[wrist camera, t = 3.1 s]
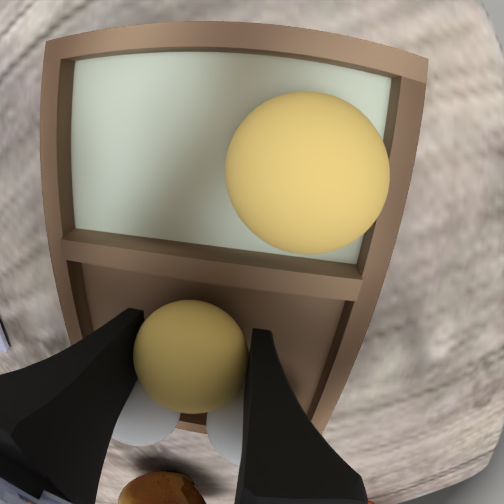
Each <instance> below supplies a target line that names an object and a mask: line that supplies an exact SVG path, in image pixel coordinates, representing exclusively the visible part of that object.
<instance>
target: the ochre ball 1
mask: <svg viewBox="0 0 504 504" xmlns="http://www.w3.org/2000/svg"><path fill="white" fill-rule="evenodd" d="M248 359H249V352H248V345H247V342H246V339H245V336H244V334H243V332H242V330H241V329H240V327H239V326H238V324H237V323H236V322H235V320H234V319H233V318H232V317H231V316H230V315H229V314H227V313H226V312H225V311H223V310H222V309H220V308H219V307H217V306H215V305H212V304H210V303H207V302H204V301H199V300H180V301H175V302H172V303H169V304H166V305H164V306H162V307H161V308H159V309H157V310H156V311H154V312H153V313H152V314H151V315H150V316H149V317H148V318H147V319H146V320H145V321H144V323H143V324H142V326H141V327H140V329H139V331H138V333H137V336H136V339H135V343H134V349H133V361H134V368H135V371H136V374H137V377H138V379H139V381H140V383H141V385H142V386H143V388H144V389H145V391H146V392H147V393H148V394H149V395H150V396H151V397H152V398H153V399H154V400H155V401H156V402H158V403H159V404H161V405H163V406H164V407H166V408H169V409H171V410H174V411H177V412H181V413H188V414H197V413H205V412H209V411H212V410H214V409H217V408H219V407H221V406H222V405H224V404H225V403H227V402H228V401H229V400H231V399H232V398H233V397H234V396H235V395H236V393H237V392H238V391H239V389H240V388H241V386H242V384H243V382H244V380H245V378H246V375H247V369H248Z"/></svg>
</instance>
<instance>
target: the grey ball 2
mask: <svg viewBox="0 0 504 504" xmlns="http://www.w3.org/2000/svg"><path fill="white" fill-rule="evenodd" d="M245 380H246V379H245ZM245 380H244V382H243V384H242V386H241V388H240V389H239V391H238V392H237V393H236V395H235V396H234V397H233V398H232V399H231V400H229V401H228V402H227V403H225V404H224V405H222V406H221V407H219V408H217V409H214V410H212V411H209V412H208V414H207V420H206V428H207V433H208V437H209V440H210V442H211V444H212V446H213V447H214V449H215V450H216V451H217V452H218V454H219V455H220V456H222V457H223V458H224V459H225V460H227V461H228V462H230V463H232V464H234V465H237V466H239V467H240V461H241V453H242V438H243V404H244V387H245Z"/></svg>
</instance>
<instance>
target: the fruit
mask: <svg viewBox="0 0 504 504" xmlns="http://www.w3.org/2000/svg"><path fill="white" fill-rule="evenodd" d="M194 485H195V484H194V482H193V481H192V480H191V479H190V478H189V476H187V475H185V474H181V473H176V472H175V473H173V472H165V471H161V472H158V471H156V472H151V473H148V474H145V475H142V476H140V477H137V478H136V479H134V480H132V481H131V482H129V483H128V484H127V485H126V486H125V487H124V488H123V490H122V492H121V493H120V496H119V499H118V504H206V502H205V501H204V499H203V497H202V495H201V494H200V493H199V492H198V491H197V490H196V488H195V487H194Z"/></svg>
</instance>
